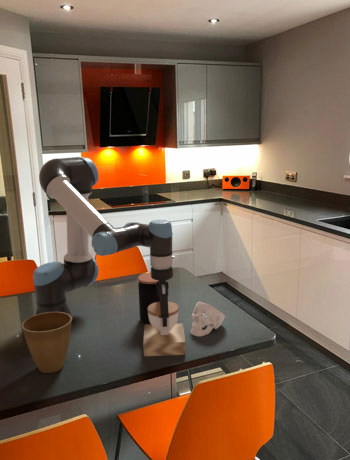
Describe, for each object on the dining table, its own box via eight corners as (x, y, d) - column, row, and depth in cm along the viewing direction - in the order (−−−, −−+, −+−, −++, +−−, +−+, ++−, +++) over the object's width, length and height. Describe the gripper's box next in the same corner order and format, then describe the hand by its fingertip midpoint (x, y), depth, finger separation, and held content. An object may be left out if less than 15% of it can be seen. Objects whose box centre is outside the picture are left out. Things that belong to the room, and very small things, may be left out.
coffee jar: (170, 315, 165) (169, 273, 161) (160, 327, 155) (159, 282, 151) (146, 312, 168) (144, 271, 164) (135, 323, 158) (133, 280, 154)
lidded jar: (145, 334, 136) (144, 308, 134) (152, 320, 146) (151, 296, 144) (176, 336, 134) (175, 310, 132) (181, 321, 144) (180, 297, 142)
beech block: (143, 357, 134) (143, 343, 133) (145, 337, 148) (144, 324, 147) (185, 355, 135) (185, 341, 134) (183, 335, 149) (182, 323, 148)
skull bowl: (179, 329, 150) (190, 298, 152) (200, 336, 159) (211, 307, 162) (200, 338, 142) (211, 305, 145) (221, 345, 152) (232, 314, 154)
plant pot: (78, 374, 125) (73, 326, 121) (27, 384, 120) (21, 335, 117) (73, 351, 139) (69, 308, 135) (27, 359, 134) (22, 315, 130)
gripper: (176, 277, 124) (177, 342, 129) (170, 256, 147) (171, 312, 152) (152, 278, 124) (154, 343, 128) (149, 257, 146) (151, 313, 151)
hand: (163, 326), depth 140 cm, fingers closed on lidded jar, 11 cm apart
